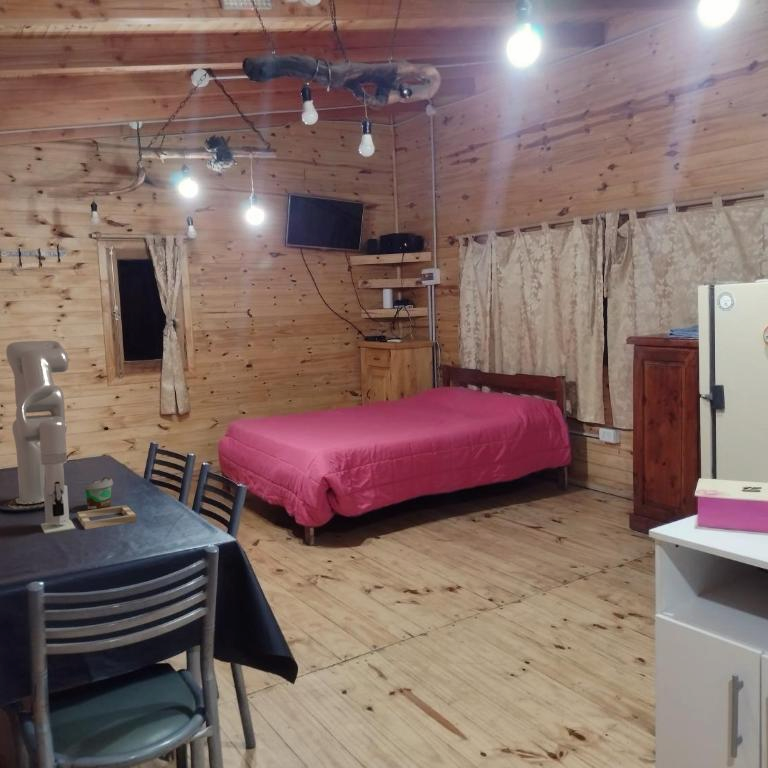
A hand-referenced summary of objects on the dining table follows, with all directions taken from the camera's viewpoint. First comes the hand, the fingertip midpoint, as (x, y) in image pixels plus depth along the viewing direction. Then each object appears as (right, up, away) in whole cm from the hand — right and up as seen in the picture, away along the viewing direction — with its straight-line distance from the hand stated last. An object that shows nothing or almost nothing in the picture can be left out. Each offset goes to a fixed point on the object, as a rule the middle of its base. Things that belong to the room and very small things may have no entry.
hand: (56, 512), depth 232 cm
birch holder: (+13, -4, +8) cm, 16 cm away
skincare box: (0, -4, 0) cm, 4 cm away
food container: (+6, -3, +24) cm, 24 cm away
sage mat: (0, -5, 0) cm, 5 cm away
